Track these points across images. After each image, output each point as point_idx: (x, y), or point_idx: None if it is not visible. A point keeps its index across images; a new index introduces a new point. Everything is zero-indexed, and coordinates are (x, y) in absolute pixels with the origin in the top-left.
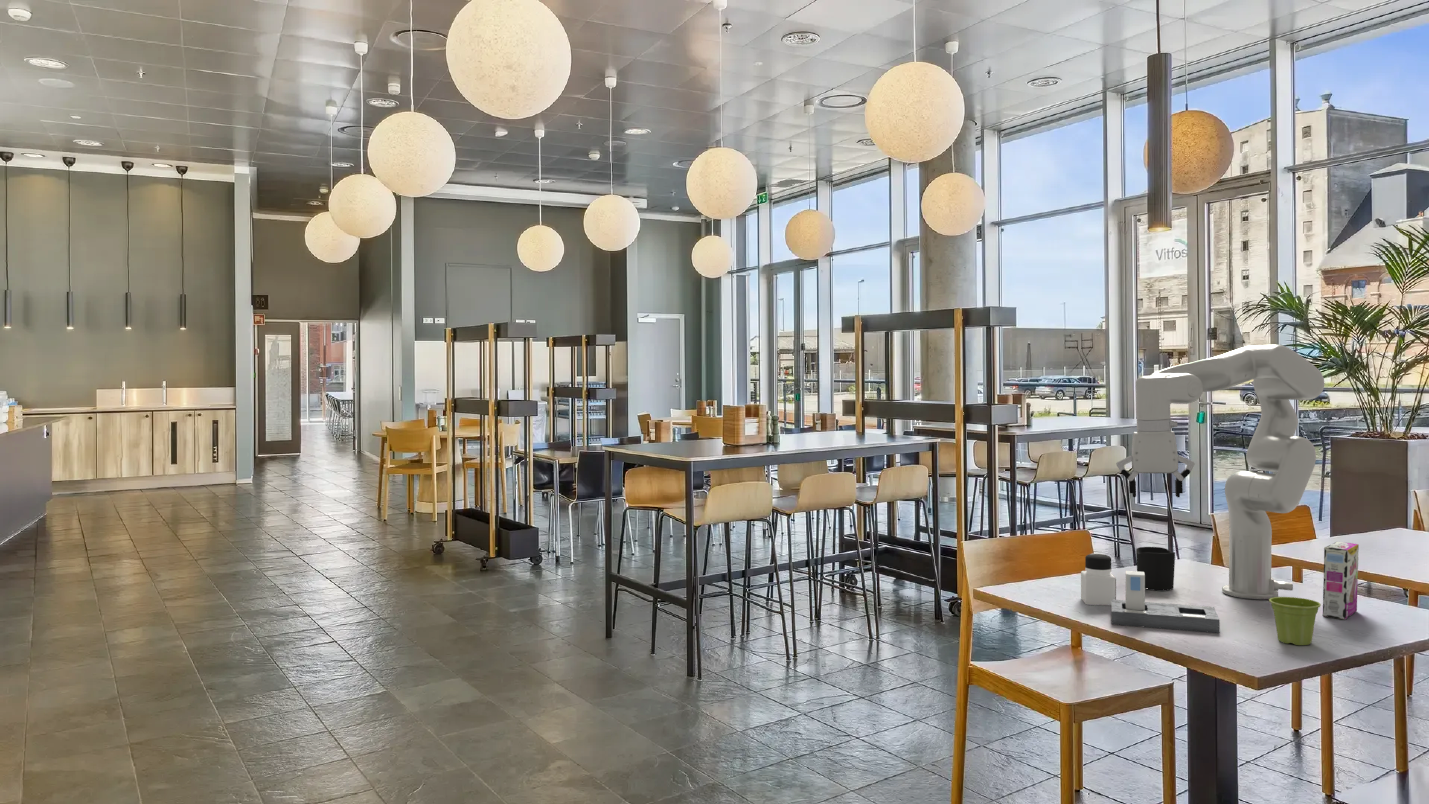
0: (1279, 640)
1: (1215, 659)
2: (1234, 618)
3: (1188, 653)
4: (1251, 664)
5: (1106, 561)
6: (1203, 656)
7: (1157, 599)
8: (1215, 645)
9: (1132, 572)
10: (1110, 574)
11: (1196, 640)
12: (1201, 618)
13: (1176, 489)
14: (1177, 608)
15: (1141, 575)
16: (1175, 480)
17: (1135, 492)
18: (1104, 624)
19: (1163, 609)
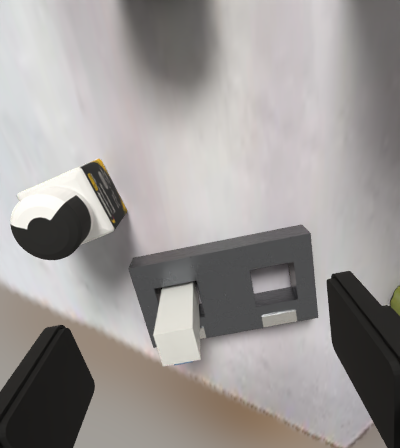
0: (391, 307)
1: (303, 416)
2: (336, 195)
3: (273, 409)
4: (342, 415)
5: (78, 246)
6: (290, 411)
7: (186, 103)
8: (303, 363)
9: (171, 344)
10: (93, 211)
11: (279, 353)
12: (290, 322)
13: (357, 391)
14: (249, 278)
15: (194, 360)
16: (394, 404)
17: (82, 411)
18: (146, 337)
19: (227, 296)
